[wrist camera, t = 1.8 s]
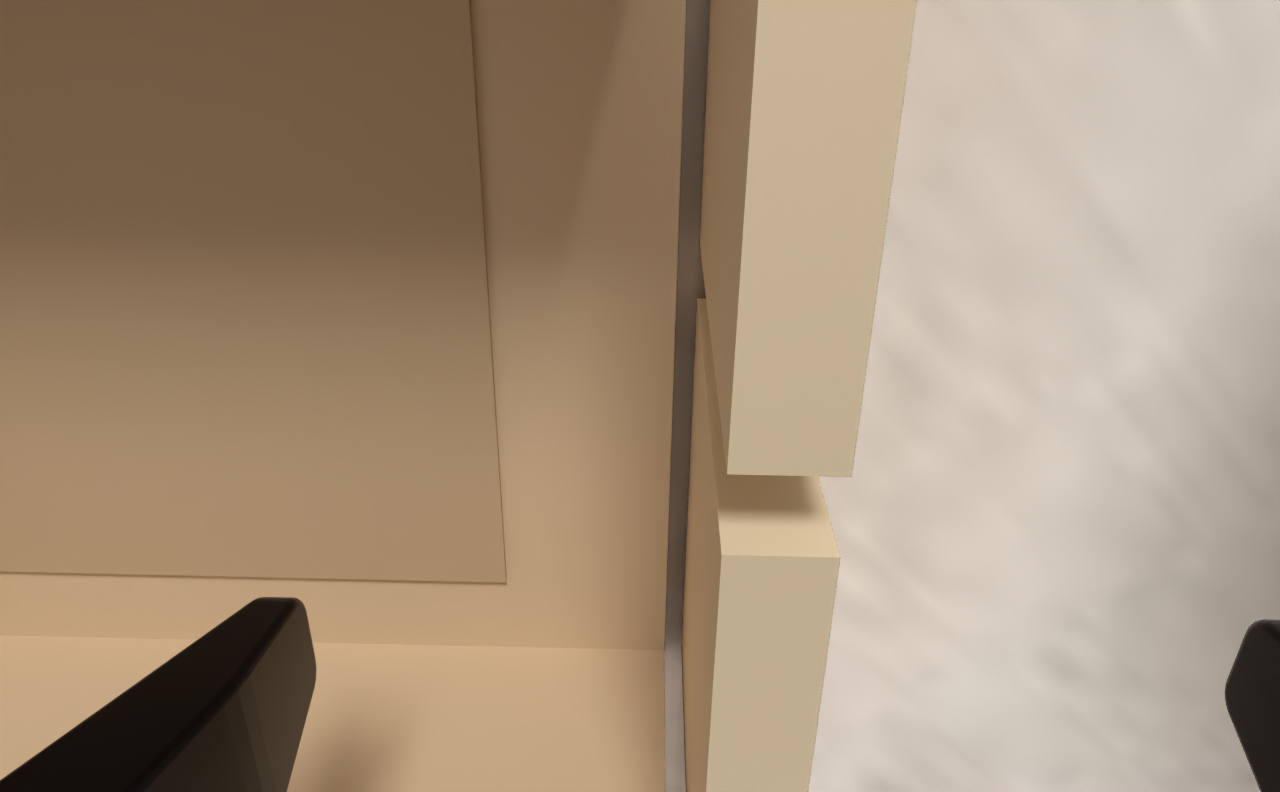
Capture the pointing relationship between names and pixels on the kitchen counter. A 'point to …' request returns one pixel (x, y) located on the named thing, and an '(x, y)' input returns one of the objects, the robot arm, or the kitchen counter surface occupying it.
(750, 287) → the flap near
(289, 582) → the carton
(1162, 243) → the kitchen counter surface
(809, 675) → the flap far
